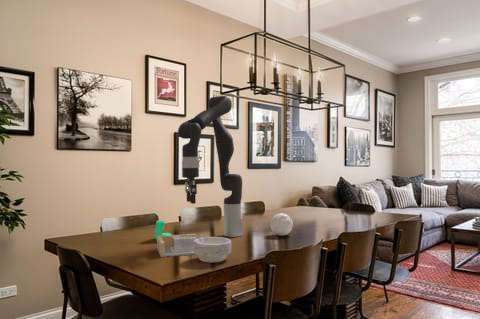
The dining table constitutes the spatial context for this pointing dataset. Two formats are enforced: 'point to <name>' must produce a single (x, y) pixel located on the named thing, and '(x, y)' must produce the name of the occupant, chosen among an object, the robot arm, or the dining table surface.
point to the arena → (166, 246)
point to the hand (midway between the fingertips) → (191, 202)
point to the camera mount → (160, 229)
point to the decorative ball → (281, 224)
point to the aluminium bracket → (182, 243)
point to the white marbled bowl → (212, 248)
